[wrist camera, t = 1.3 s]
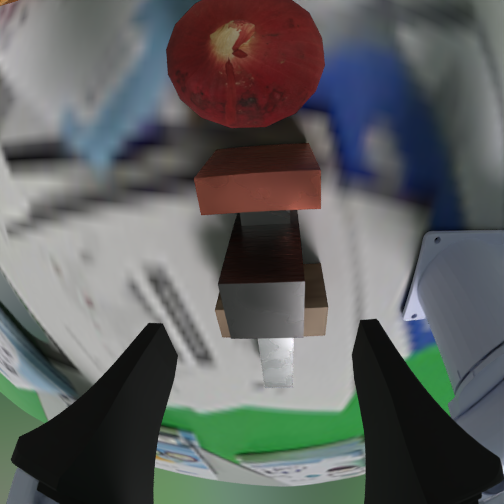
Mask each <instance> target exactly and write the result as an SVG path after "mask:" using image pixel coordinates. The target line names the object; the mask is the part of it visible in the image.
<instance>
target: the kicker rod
mask: <svg viewBox="0 0 504 504" xmlns="http://www.w3.org/2000/svg"><path fill="white" fill-rule="evenodd" d="M194 182H195V187H196V192H197V197H198V202H199V207H200V212H201V215H212V214H227V213H237V216H236V220H235V223H234V227H233V230H232V234H231V238H230V241H229V245H228V249H227V252H226V256H225V260H224V263H223V267H222V271H221V275H220V278H219V282H218V287H219V291H220V295H221V299H222V304H223V308H224V312H225V316H226V320H227V324H228V329H229V333H230V337H231V338H232V339H258V345H259V351H260V358H261V365H262V372H263V378H264V385H265V388H288V387H293V338H303V337H304V303H305V278H304V268H303V258H302V248H301V239H300V231H299V222H298V214H297V210H301V209H321V170H320V168H319V165H318V163H317V161H316V159H315V156H314V154H313V152H312V150H311V148H310V145H309V143H299V144H278V145H262V146H249V147H238V148H228V149H218V150H216V151H215V152H214V154H213V155H212V156H211V157H210V159H209V160H208V161H207V162H206V164H205V165H204V166H203V168H202V169H201V170H200V171H199V173H198V174H197V175H196V177H195V178H194Z"/></svg>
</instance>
